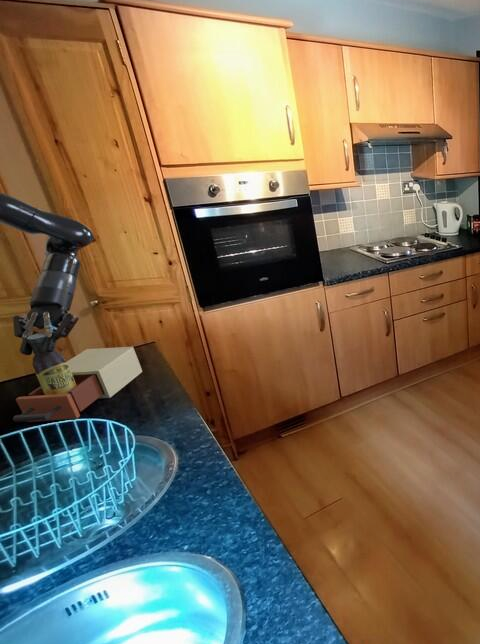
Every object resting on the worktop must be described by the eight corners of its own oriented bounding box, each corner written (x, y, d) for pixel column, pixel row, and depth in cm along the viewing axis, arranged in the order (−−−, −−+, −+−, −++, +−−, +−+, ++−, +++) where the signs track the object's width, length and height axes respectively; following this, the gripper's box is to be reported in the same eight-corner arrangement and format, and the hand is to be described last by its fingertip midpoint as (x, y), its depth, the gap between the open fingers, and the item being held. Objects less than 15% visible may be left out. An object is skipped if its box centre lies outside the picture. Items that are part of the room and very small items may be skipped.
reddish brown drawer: (62, 430, 112) (50, 407, 109) (9, 434, 111) (-4, 410, 108) (112, 390, 129) (104, 369, 126) (68, 393, 128) (58, 372, 125)
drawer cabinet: (110, 397, 127) (98, 370, 124) (59, 401, 126) (46, 373, 122) (142, 371, 140) (133, 346, 137) (97, 374, 139) (86, 348, 135)
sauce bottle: (60, 411, 117) (25, 343, 109) (45, 407, 119) (10, 340, 111) (89, 398, 122) (58, 332, 114) (75, 394, 124) (43, 329, 116)
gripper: (10, 286, 114) (-12, 351, 108) (72, 284, 116) (54, 347, 110) (37, 298, 121) (17, 359, 115) (95, 296, 123) (79, 356, 117)
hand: (36, 353), depth 112 cm, fingers closed on sauce bottle, 4 cm apart
